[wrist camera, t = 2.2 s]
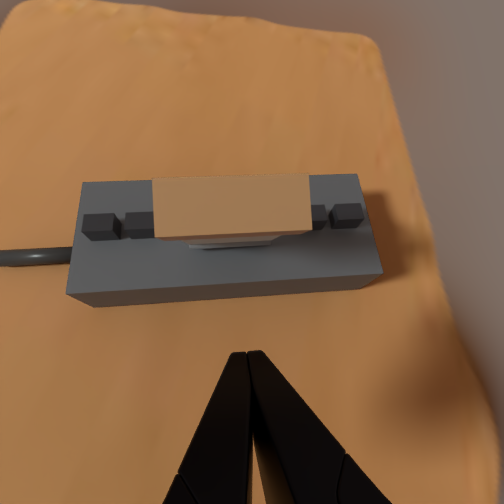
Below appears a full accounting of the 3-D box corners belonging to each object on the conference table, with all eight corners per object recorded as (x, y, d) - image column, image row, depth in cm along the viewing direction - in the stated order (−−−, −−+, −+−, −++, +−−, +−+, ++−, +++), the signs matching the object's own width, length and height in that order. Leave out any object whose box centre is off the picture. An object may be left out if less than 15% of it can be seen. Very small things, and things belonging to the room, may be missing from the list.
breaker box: (359, 289, 23) (394, 266, 18) (-20, 315, 21) (-100, 297, 16) (339, 201, 26) (364, 161, 21) (6, 215, 24) (-54, 172, 19)
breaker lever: (270, 245, 20) (312, 229, 10) (188, 250, 19) (154, 237, 10) (268, 216, 20) (308, 173, 10) (187, 219, 19) (152, 177, 10)
